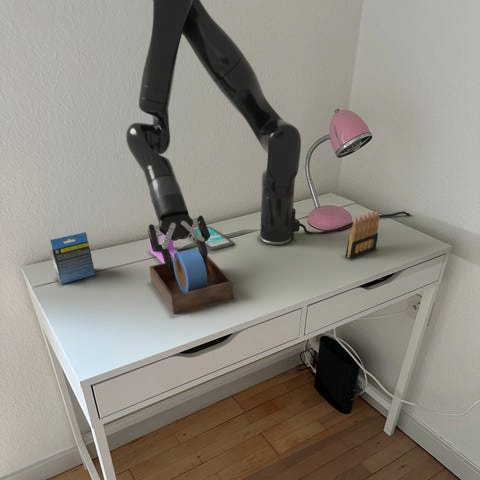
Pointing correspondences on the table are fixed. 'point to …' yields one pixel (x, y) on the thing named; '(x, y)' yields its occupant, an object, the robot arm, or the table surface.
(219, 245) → the smartphone
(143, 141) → the robot arm
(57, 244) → the blue retail box
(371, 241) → the ammunition clip
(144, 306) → the table surface
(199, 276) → the tape roll
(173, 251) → the bracket
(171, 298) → the wooden box
